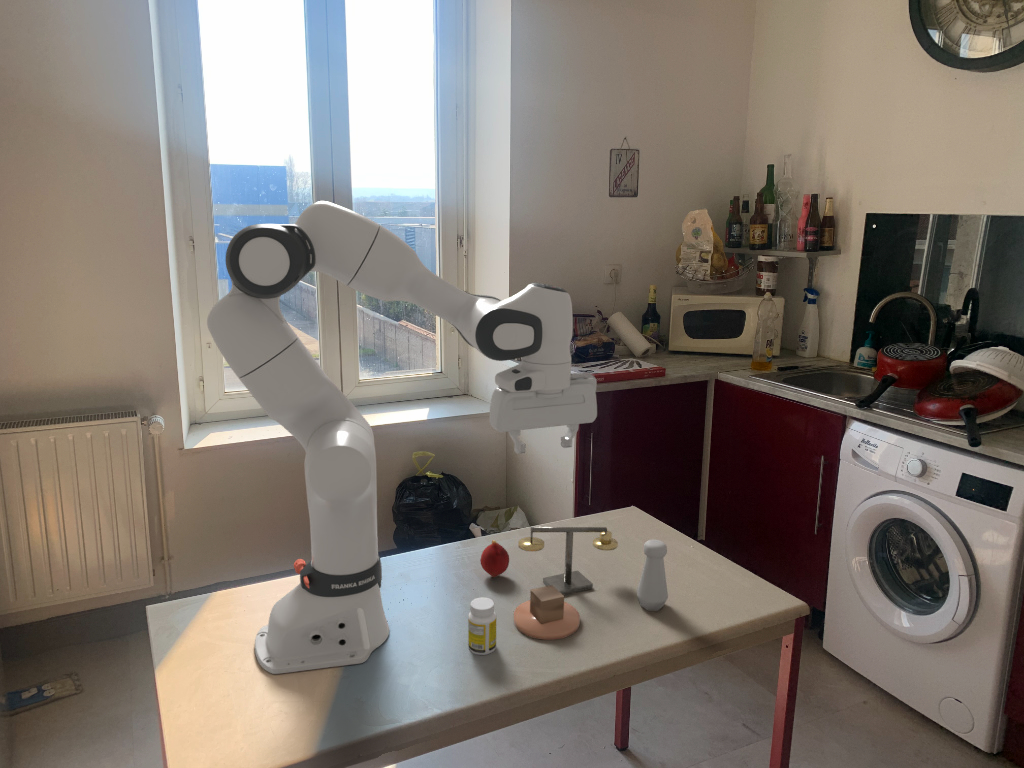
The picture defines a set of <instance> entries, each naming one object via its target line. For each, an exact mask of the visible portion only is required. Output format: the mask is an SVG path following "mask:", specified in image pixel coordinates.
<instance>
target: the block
mask: <svg viewBox="0 0 1024 768" xmlns="http://www.w3.org/2000/svg"><path fill="white" fill-rule="evenodd" d="M529 593H530V594H529V595H530V597H529V598H530V599H529V600H530V613H531V614H532V615H533V616H534V617H535V618H536V619H537V620H538V621H539V623H540V624H545V623H549V622H553V621H557V620H561V619H563V615H564V602H565V595H562V594H561V593H560V592H559V591H558V590H557V589H556V588H555V587H554V586H553V585H550V586H546V585H545V586H541V587H536V588H533V589H530V592H529Z"/></svg>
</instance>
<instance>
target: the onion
mask: <svg viewBox="0 0 1024 768" xmlns="http://www.w3.org/2000/svg"><path fill="white" fill-rule="evenodd" d="M479 563H480V565H481V567H482V569H483V570H484V572H486V573H487V574H488V575H489V576H490V577H492V578H497V577H498V576H499V577H500V576H501V575H502V574H504V573H505V572H506V571H507V570H508V567H509V566H510V565H509V564H510V555H509V553H508V551H507V550H506V549H505V547H504V546H503V545H501V544H499V543H498V542H497V541H496V540H495V539H493V540H491V544H489V545H488V546H486V547H485V548H484V549H483V551H482V553H481V556H480V562H479Z"/></svg>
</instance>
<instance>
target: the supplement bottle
mask: <svg viewBox="0 0 1024 768" xmlns="http://www.w3.org/2000/svg"><path fill="white" fill-rule="evenodd" d="M469 606H470V608H469V610H470V612H469V613H468V618H467V620H468V621H467V627H468V629H467V630H468V631H467V632H468V633H467V635H468V636H467V638H468V649H469V650H470V651H469V652H471V653H472V654H474V655H478V656H479V655H480V656H485V655H489V654H491V653H493V652H494V651H495V650H496V649H497V613H496V612H495V603H494V600H493V599H491V598H489V597H482V596H481V597H476V598H473V600H471V602H470V605H469Z"/></svg>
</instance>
